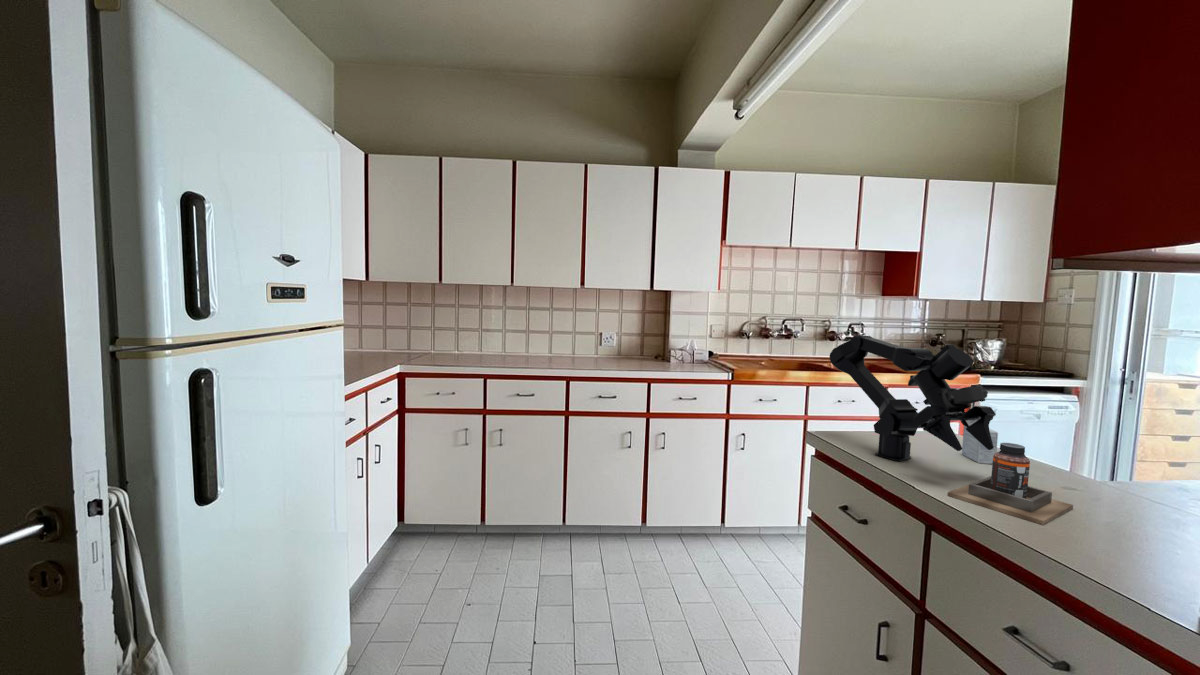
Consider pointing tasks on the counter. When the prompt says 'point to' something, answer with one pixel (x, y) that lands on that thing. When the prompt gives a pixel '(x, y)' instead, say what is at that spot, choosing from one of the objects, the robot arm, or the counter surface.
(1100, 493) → the counter surface
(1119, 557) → the counter surface
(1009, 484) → the supplement bottle
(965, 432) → the medicine box
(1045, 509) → the socket board
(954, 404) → the robot arm
